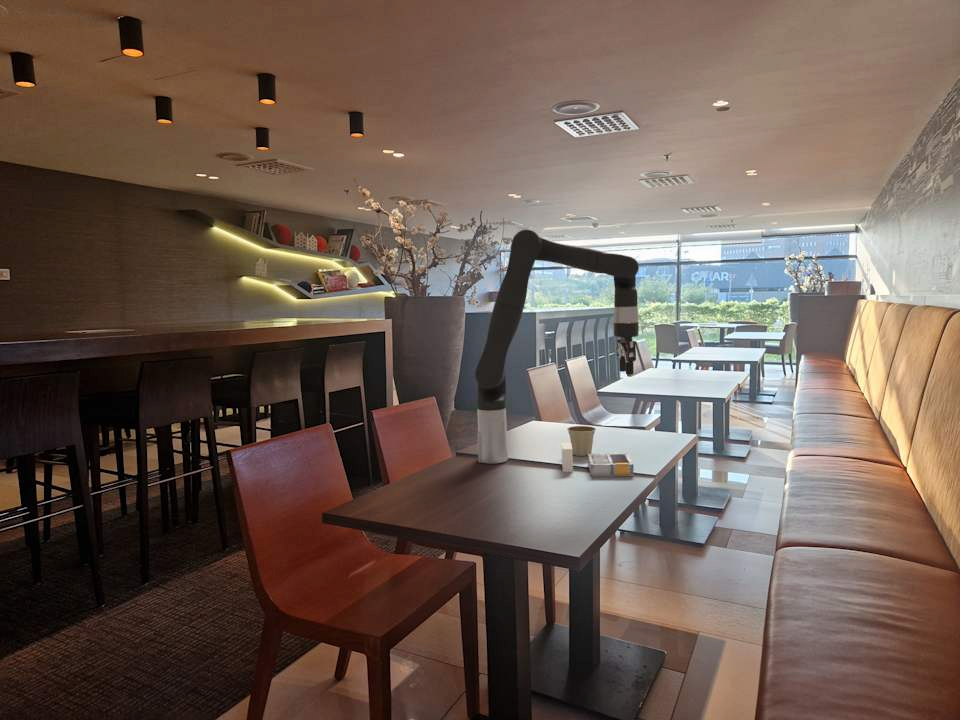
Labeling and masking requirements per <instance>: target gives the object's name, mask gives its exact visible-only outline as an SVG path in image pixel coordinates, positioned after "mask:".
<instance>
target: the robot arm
mask: <svg viewBox="0 0 960 720" xmlns="http://www.w3.org/2000/svg"><path fill="white" fill-rule="evenodd" d="M536 261H541V262H550V263H555V264H560V265H563V266H567V267H570V268H575V269H578V270H581V271H586V272H590V273H595V274H604V275H608V276H611V277H613V287H614V302H613V303H614V304H613V305H614V307H613V309H614V310H613V336H614V337H616V338H617V339H616V342H617V343H616V356H617V358H618V360H619V361H618V362H619V363H618V367H619V368H618V371H619V372H624V373H625V375H627V376H632V375H634V363H635V362H636V360H637V348H636V347H637V346H636V343H637V342H636V341H635V340H633V338H636V337H638V336H639V309H638V291H637V288H636V285H637V283H636V281H637V280H636V277H637V274H638V272H639V268H640V267H639V262H638V261H637V259H635V258H634V257H632V256H630V255H624V254H620V253H611V252H607V251H604V250H599V249H596V248H590V247H587V246H586V247H585V246H580V245H573V244H564V243H560V242H559V243H558V242H554V241H551V240H549V239H546V238H543V237H542V236H539V234H538V233H537V232H536V231H535V230H532V229H528V228H526V229H521V230H519V231H518V232H516V233H515V235H514V236H513V238H512V241H511V247H510V253H509V258H508V264H507V268H506V272H505V275H504V276H503V279H502V282H501V284H500V287H499V289H498V292H497V296H496V297H495V302H494V304H493V307H492V308H493V309H492V312H491V316H490V319H489V320H490V322H489V326H488V330H487V336H486V341H485V345H484V348H483V351H482V353H481V356H480V358H479V360H478V363H477V365H476V368H475V369H474V378H475V381H476V382H477V400H476V405H477V407H476V408H477V410H476V411H477V435H476V436H477V453H478V455H477V456H478V458H477V459H478V463H483V464H490V465H492V464H501V463H505V462H507V461H508V457H509V456H508V453H509V452H508V431H507V428H508V427H507V408H506V407H507V406H506V405H507V403H506V400H507V384H506V383H507V382H506V376H507V375H506V369H505V365H506V359H507V355H508V351H509V348H510V345H511V344H512V342H513V339H514V338H515V335H516V332H517V331H518V327H519V325H520V322H521V319H522V315H523V312H524V308H525V304H526V299H527V295H528V287H529V286H528V285H529V280H530V276H531V272H532V269H533V267H534V264H535V262H536Z"/></svg>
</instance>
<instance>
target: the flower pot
mask: <svg viewBox="0 0 960 720" xmlns="http://www.w3.org/2000/svg"><path fill="white" fill-rule="evenodd" d="M596 430H597V429H596V428H595V427H594V426H589V425H588V426H587V425H576V426H570V427H567V431H568V435H569V438H570V443H571V444H572V454H573V455H574V456H575V457H576V456H577V457H585V456H587V457H588V454H592V450H593V441H594V435H595V432H596Z"/></svg>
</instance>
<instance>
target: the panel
mask: <svg viewBox="0 0 960 720" xmlns="http://www.w3.org/2000/svg"><path fill="white" fill-rule="evenodd" d="M573 455H574V454H572V444H571V442H562V443H561V466H562V467H561V468H562V473H573V472H574V465H573V463H574V461H573V460H574V459H573V457H574V456H573Z"/></svg>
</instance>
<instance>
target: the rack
mask: <svg viewBox="0 0 960 720" xmlns="http://www.w3.org/2000/svg"><path fill="white" fill-rule="evenodd" d="M587 466H588V470H589V473H590V477H593V478H594V477H597V478H598V477H599V478H601V477H603V478H605V477H611V478H612V477H634V463H633V461H632V459H631V457H630V456H629V454H628V453H627V452H626V453H624V452H623V453H591V454H588V456H587Z"/></svg>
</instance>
